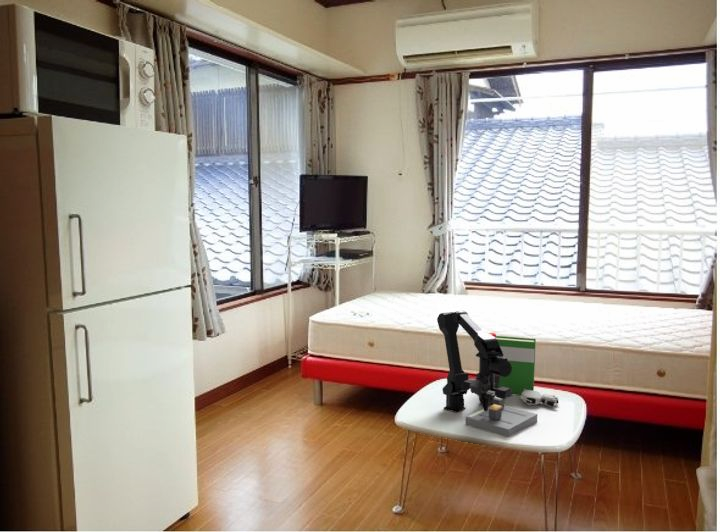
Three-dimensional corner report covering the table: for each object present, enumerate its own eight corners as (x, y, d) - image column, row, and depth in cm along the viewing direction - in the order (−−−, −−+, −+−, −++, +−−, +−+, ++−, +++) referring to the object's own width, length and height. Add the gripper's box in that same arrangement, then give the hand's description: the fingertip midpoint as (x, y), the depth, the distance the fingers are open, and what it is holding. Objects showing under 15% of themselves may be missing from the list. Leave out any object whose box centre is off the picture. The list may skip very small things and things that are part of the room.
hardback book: (533, 391, 268) (535, 338, 265) (532, 396, 261) (534, 342, 258) (493, 387, 273) (494, 335, 271) (491, 392, 266) (493, 338, 264)
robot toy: (557, 403, 255) (521, 397, 259) (558, 393, 254) (522, 387, 259) (557, 413, 243) (519, 406, 247) (559, 402, 242) (520, 395, 247)
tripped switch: (488, 418, 224) (488, 406, 223) (494, 415, 227) (494, 404, 226) (495, 420, 222) (496, 408, 221) (501, 417, 225) (502, 406, 224)
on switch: (491, 408, 235) (492, 397, 235) (497, 405, 238) (497, 394, 238) (499, 410, 233) (499, 398, 233) (504, 407, 236) (504, 396, 236)
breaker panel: (465, 424, 226) (465, 416, 226) (495, 410, 242) (495, 403, 242) (508, 437, 214) (508, 429, 214) (537, 421, 230) (537, 413, 230)
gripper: (453, 369, 226) (453, 410, 227) (497, 379, 213) (496, 422, 214) (470, 364, 234) (469, 403, 235) (513, 373, 221) (512, 414, 223)
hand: (485, 410), depth 227 cm, fingers closed
